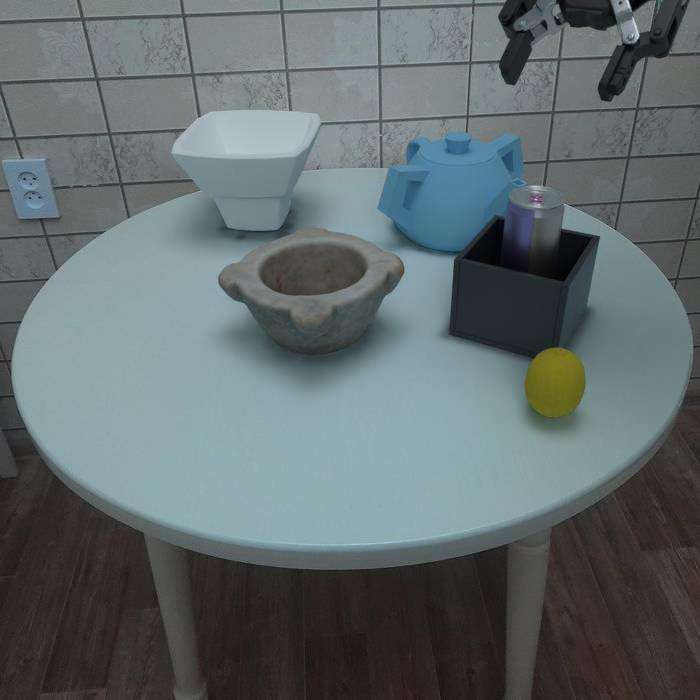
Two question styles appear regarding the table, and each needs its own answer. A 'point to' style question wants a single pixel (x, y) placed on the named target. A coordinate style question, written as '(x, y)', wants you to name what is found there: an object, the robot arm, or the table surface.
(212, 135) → the bowl
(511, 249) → the beverage can
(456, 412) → the table surface
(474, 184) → the teapot
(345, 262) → the mortar
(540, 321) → the open box
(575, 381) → the lemon
